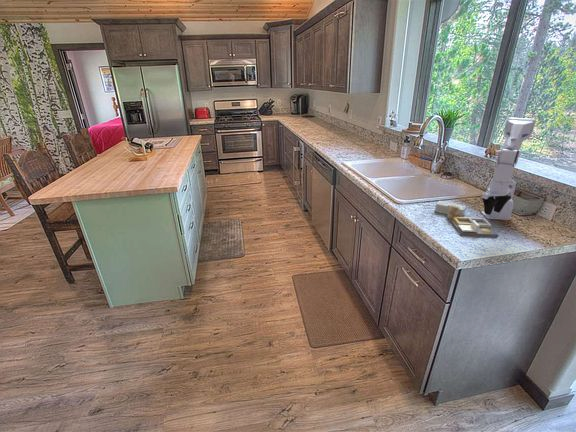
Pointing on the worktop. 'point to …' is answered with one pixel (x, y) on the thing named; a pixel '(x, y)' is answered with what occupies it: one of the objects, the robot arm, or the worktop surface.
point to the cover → (470, 227)
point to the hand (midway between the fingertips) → (492, 212)
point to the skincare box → (444, 208)
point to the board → (483, 228)
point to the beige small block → (453, 211)
